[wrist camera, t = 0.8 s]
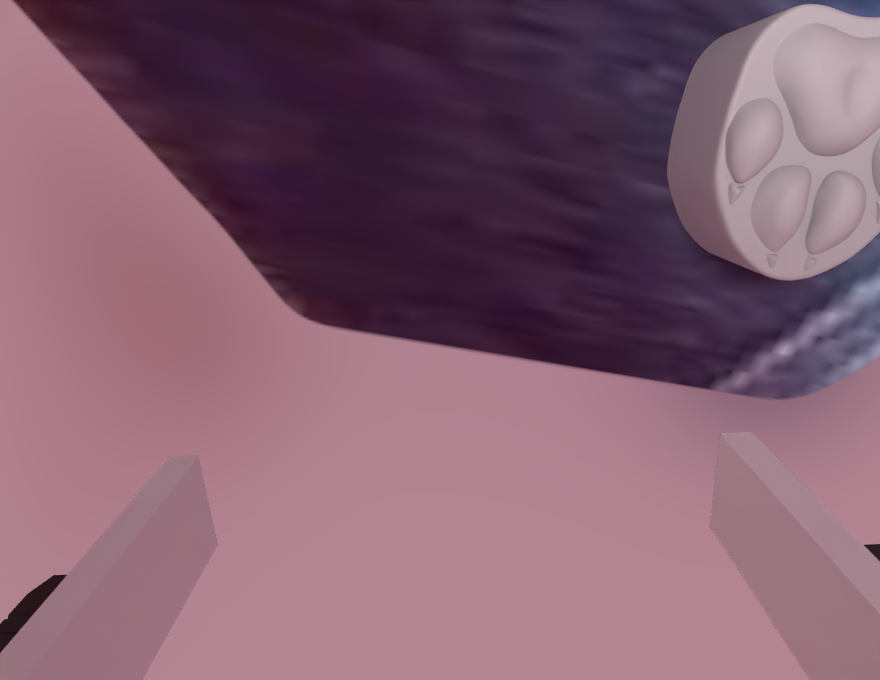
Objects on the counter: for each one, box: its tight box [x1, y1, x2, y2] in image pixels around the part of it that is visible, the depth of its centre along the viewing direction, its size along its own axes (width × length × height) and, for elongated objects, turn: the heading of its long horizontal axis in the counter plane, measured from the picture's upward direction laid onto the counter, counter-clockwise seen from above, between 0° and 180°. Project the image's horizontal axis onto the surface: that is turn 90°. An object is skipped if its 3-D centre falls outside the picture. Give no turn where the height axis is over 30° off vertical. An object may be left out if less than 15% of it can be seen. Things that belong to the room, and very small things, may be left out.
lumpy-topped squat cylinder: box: [667, 4, 880, 281], centre depth 32 cm, size 10×13×9 cm
